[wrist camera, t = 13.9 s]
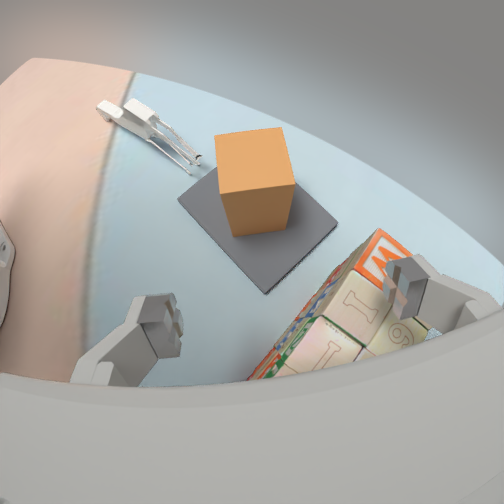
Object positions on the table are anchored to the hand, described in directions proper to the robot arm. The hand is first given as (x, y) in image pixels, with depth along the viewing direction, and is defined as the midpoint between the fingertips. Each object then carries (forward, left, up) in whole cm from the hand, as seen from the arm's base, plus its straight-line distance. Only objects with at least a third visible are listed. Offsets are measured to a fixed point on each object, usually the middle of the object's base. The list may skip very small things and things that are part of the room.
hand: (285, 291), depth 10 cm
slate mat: (-8, +6, -16) cm, 19 cm away
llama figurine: (-25, +3, -16) cm, 30 cm away
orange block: (-8, +6, -15) cm, 18 cm away
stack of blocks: (+6, -3, -16) cm, 18 cm away
